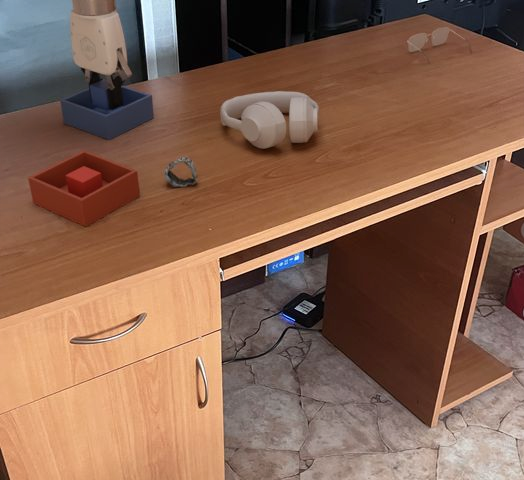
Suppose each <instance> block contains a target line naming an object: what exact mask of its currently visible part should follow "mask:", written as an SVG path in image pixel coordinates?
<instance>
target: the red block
mask: <svg viewBox="0 0 524 480" xmlns="http://www.w3.org/2000/svg"><path fill="white" fill-rule="evenodd" d="M66 181H67V186H68V192H69V193H71V194H73V195H75V196H78V197H80V198H83V197H85V196H87V195H89V194H90V193H92V192H94V191H96V190H98V189H100V188H102V187H103V184H102V177H101V173H100V172H97V171H95V170H92V169H90V168H87V167H85V166H83V167H81V168H79V169H77V170H75V171H73V172H71V173H69V174H67V175H66Z"/></svg>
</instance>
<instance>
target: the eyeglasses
mask: <svg viewBox="0 0 524 480" xmlns="http://www.w3.org/2000/svg"><path fill="white" fill-rule="evenodd" d="M450 32H452V33H453V34H455V35H456V36H458V37H459V38H461V39H463V40H464V41H465V42H467V43H468V45H469V50H470V53H472V52H473V51H472V46H471V43H470V42H469V41H468V40H467V39H465V38H464V37H462V36H461V35H460V34H459V33H457V32H455V31H454V30H453V29H451V28H450V27H448V26H445V27H439V28H437V29H434V30H433V31H432V33H429V34H427V33H426V32H420V33H417V34H413V35H412V36H410V37H409V39H408V40H406V42H407V46H408V47H407V50H408V52H410V53H414V52H417V51H419V52H421V53H422V54H423V55H424V56H426V58H427V62H428V64H431V62H430V59H429V56H428V55H427V54H426V52H424V51H422V50H421V49H423V48H424V46H425V45H426V44H427V43H428V41H429V38H428V37H429V36H431V37H430V39H431V46H441V45H443V44H444V43H445V42H446V41H447V39H448V36H449V33H450Z"/></svg>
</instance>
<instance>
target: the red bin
mask: <svg viewBox="0 0 524 480" xmlns="http://www.w3.org/2000/svg"><path fill="white" fill-rule="evenodd" d="M83 166H85V167H87V168H90V169H92V170H95V171H97V172H100V173H101V177H102V184H103V187H102V188H100V189H98V190H96V191H94V192H92V193H90V194H89V195H87V196H85V197H83V198H80V197H78V196H75V195H73V194H71V193H69V192H68V186H67V181H66V175H67V174H69V173H71V172H73V171H75V170H77V169H79V168H81V167H83ZM27 180H28V183H29V188H30V194H31V199H32V202H33V203H32V204H34V205H36V206H39V207H41V208H42V209H45V210H47V211H49V212H52V213H54V214H56V215H58V216H61V217H63V218H65V219H67V220H70V221H72V222H74V223H76V224H78V225H80V226H83V227H86V228H87V227H88V226H90V225H93V223H95V222H97V221H99V220H100V219H102V218H104V217H106V216H108V215H109V214H111V213H113V212H115V211H116V210H118V209H119V208H121V207H123V206H125V205H127V204H129V203H130V202H132V201H134V200H135V199H138V198H139V197H141V192H140V184H139V174H138V170H137V169H134V168H131V167H129V166H126V165H123V164H121V163H119V162H116V161H113V160H111V159H108V158H106V157H104V156H101V155H99V154H95V153H94V152H93V153H92V152H90V151H87V150H85V149H84V150H82V151H80V152H77V153H76V154H73V155H71V156H69V157H67V158H65V159H64V160H61V161H59V162H57V163H55V164H52V165H50V166H49V167H47V168H45V169H43V170H41V171H39V172H37V173H35V174H32V175H31V176H28V177H27Z"/></svg>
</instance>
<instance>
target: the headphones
mask: <svg viewBox="0 0 524 480" xmlns="http://www.w3.org/2000/svg"><path fill="white" fill-rule="evenodd" d="M319 113H320V107H319V104H318V103H317V102H316V101H314V100H313V99H312V98H311V97H310V96H309V95H308V94H305V93H303V92H299V91H283V90H277V91H276V90H275V91H265V92H256V93H255V92H254V93H249V94H244V95H239V96H238V95H237V96H234V97H232V98H229V99H227V100H226V101H224V102H223V103H222V104H221V106H220V110H219V115H220V121H221V123H222V126H224V127H225V126H226V127H229V128H231V129H235V130H237V131H240V132H241V134H242V135H243V137H244V139H246V140H247V141H248V142H249V143H250V144H251V145H252V146H254V147H256V148H257V149H269V148H271V147H274V146H277V145H280V144H281V143H282V142H283V141H284V139H285V138H286V135H287V122H286V118H285V117H284V115H283V114H288V131H289V135H288V136H289V140H290V143H293V144H304V143H308V141H309V140H310V139H311V137H312V135H313V134H314V133H318V130H319V129H318V128H319V115H320V114H319Z"/></svg>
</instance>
